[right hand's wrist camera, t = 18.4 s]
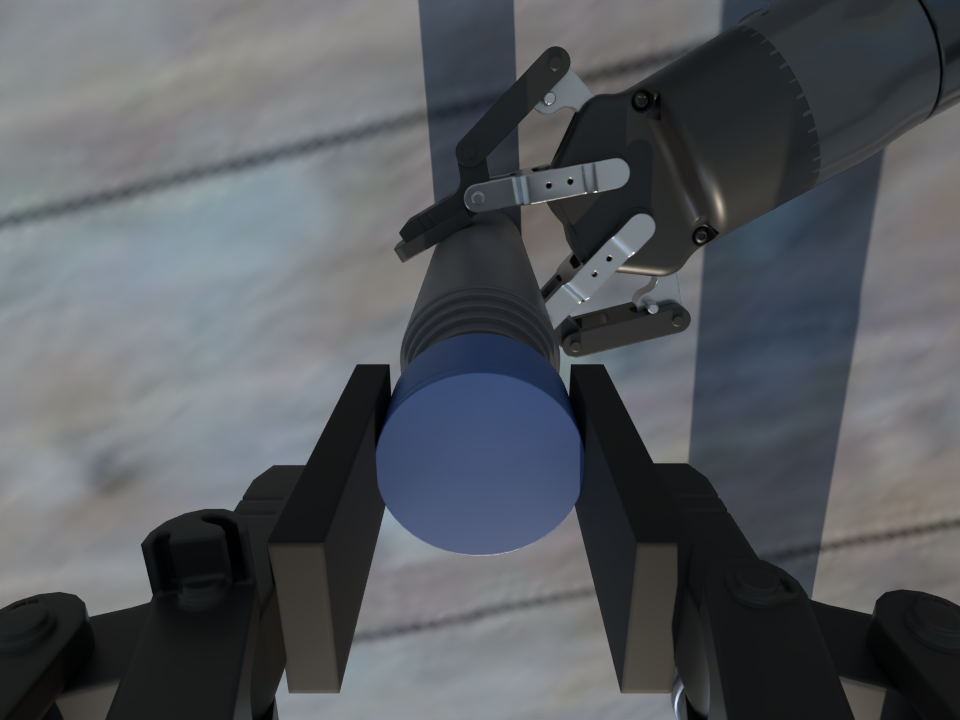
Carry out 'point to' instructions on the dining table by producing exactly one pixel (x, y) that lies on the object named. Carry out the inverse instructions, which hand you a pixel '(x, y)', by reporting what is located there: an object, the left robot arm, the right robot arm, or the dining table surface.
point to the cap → (480, 447)
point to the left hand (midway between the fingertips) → (431, 301)
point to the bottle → (481, 291)
